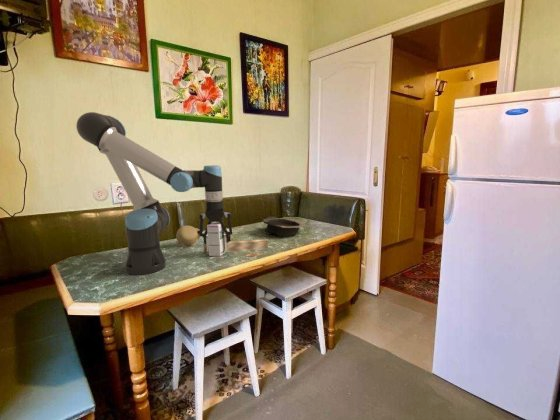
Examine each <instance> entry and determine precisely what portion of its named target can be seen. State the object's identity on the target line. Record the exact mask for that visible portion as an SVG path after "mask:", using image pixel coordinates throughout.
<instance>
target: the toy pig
mask: <svg viewBox="0 0 560 420" xmlns="http://www.w3.org/2000/svg"><path fill="white" fill-rule="evenodd" d="M199 231H200V228H197V227H194V226H192V225H183V226H180V228H178V229H177V231H176V234H175V236H176V241H177V243H178V244H179V245H180V246H181V247H185V246H186V247H194V245H195V244H196V242H197V241H198V240H199V239H200V238H201V237H202V236H199Z"/></svg>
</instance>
